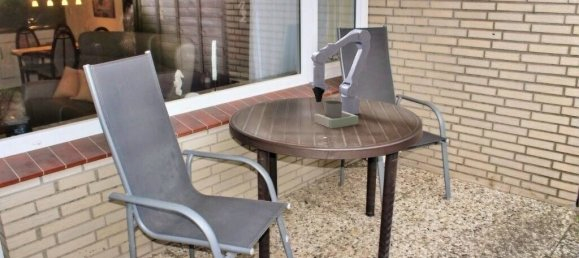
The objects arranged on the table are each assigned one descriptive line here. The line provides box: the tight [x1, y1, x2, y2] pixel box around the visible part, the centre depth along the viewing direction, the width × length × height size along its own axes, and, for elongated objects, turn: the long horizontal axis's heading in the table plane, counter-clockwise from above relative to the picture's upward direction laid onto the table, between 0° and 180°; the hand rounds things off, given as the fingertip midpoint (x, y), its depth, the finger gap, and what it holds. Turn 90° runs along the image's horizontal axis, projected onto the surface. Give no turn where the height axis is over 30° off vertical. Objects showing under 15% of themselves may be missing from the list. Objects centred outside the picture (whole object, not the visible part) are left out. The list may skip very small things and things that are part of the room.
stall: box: [314, 111, 359, 130], centre depth 236 cm, size 16×14×4 cm
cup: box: [324, 100, 342, 119], centre depth 237 cm, size 8×8×10 cm
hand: (318, 101), depth 247 cm, fingers closed
